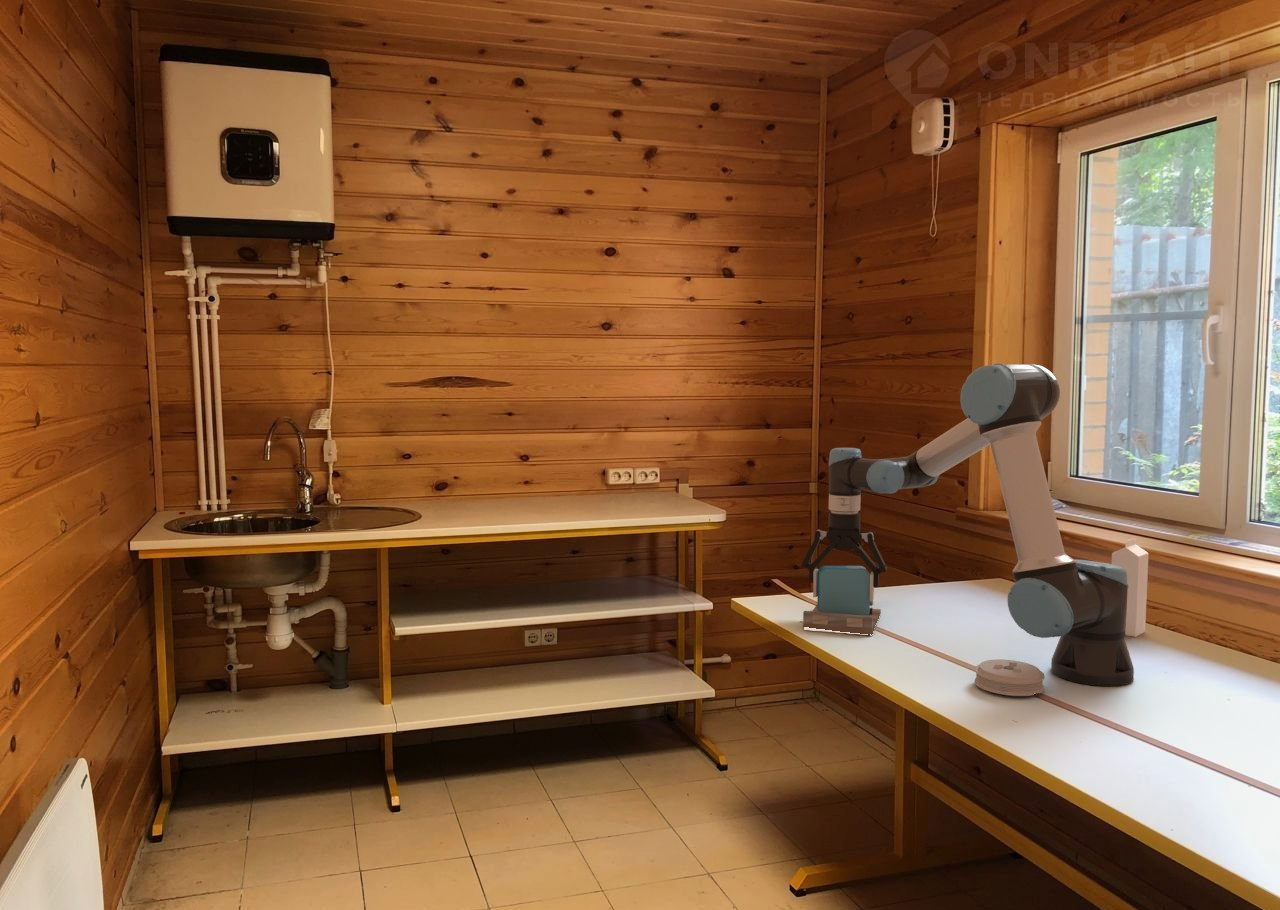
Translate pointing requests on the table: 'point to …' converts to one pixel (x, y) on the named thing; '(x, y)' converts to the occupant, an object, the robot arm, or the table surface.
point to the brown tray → (841, 621)
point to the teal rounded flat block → (844, 590)
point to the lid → (1009, 677)
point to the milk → (1134, 585)
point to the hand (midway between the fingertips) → (843, 598)
